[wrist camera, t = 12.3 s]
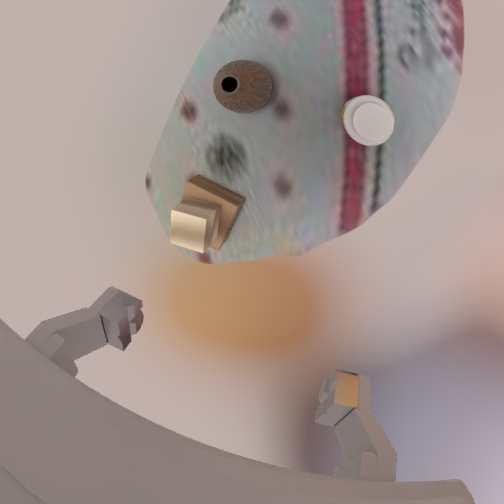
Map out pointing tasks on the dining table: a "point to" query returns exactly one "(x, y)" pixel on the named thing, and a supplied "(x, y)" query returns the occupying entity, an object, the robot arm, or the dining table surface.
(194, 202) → the maple cube
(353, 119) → the supplement bottle
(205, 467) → the robot arm
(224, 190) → the walnut block
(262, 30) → the dining table surface
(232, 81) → the vase
